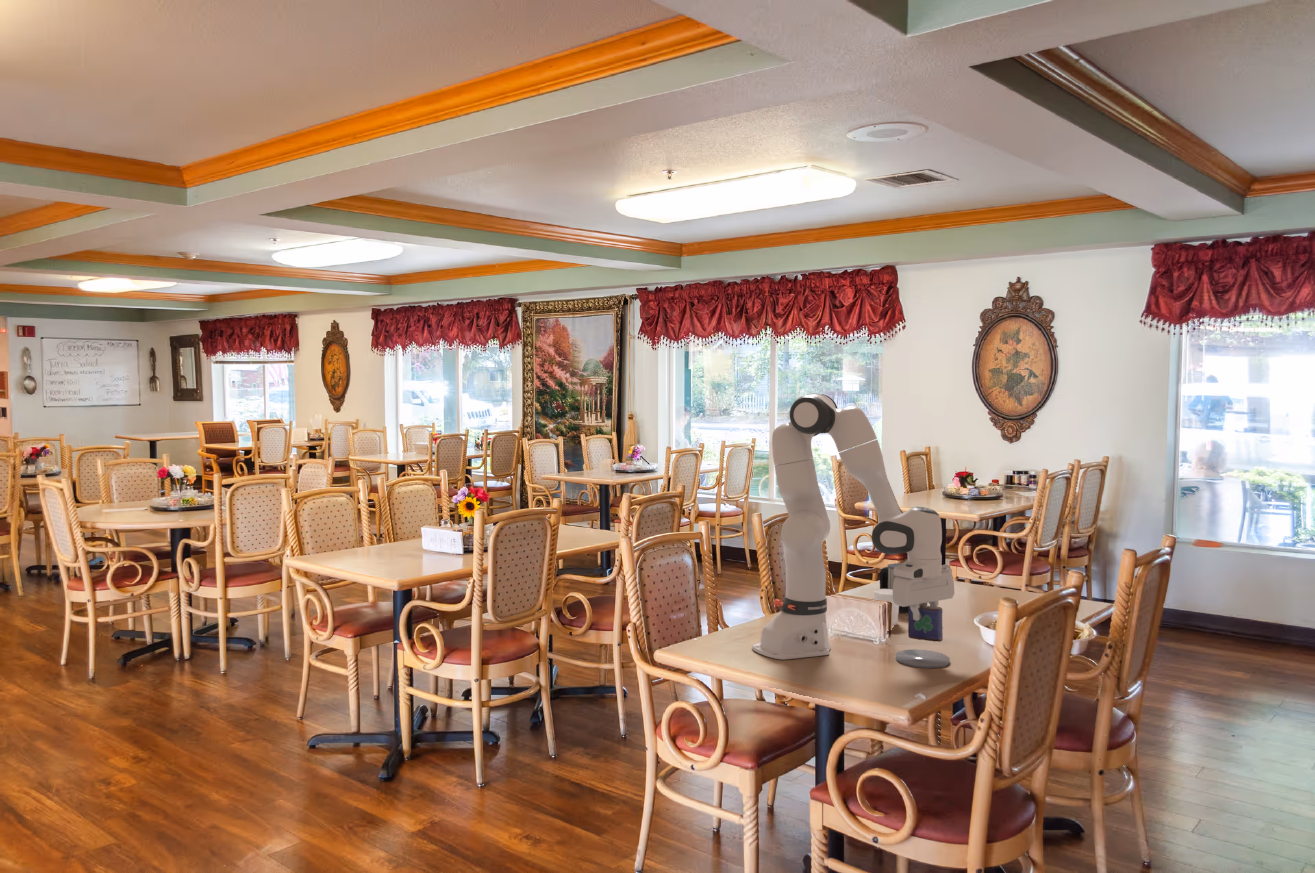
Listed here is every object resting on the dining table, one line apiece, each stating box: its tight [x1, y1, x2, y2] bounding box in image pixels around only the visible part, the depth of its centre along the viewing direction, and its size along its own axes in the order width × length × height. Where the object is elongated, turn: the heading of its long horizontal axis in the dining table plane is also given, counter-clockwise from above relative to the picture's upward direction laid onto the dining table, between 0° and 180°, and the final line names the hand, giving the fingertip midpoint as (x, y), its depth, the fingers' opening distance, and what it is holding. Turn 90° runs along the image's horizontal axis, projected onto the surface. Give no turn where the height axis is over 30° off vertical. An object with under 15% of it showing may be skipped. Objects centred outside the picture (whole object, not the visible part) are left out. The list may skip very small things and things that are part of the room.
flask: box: [907, 603, 944, 643], centre depth 247 cm, size 9×3×11 cm, turn 56°
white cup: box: [873, 588, 900, 626], centre depth 288 cm, size 8×8×10 cm
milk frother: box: [879, 562, 909, 614], centre depth 304 cm, size 14×16×15 cm
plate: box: [895, 648, 951, 669], centre depth 248 cm, size 14×14×1 cm
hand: (924, 618), depth 247 cm, fingers closed on flask, 4 cm apart
